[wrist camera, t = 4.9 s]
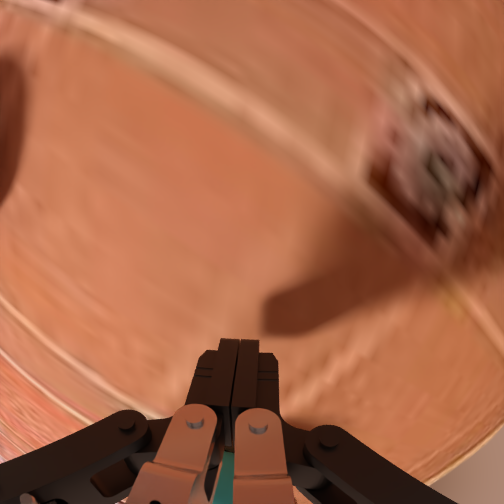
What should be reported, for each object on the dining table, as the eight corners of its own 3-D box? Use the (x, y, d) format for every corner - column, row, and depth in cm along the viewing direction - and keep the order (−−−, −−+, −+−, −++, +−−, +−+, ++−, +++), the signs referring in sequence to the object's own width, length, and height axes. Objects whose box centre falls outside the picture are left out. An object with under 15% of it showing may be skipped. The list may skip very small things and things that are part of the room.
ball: (173, 496, 16) (180, 431, 17) (254, 506, 16) (267, 442, 18) (162, 542, 10) (167, 468, 11) (267, 552, 10) (286, 481, 12)
